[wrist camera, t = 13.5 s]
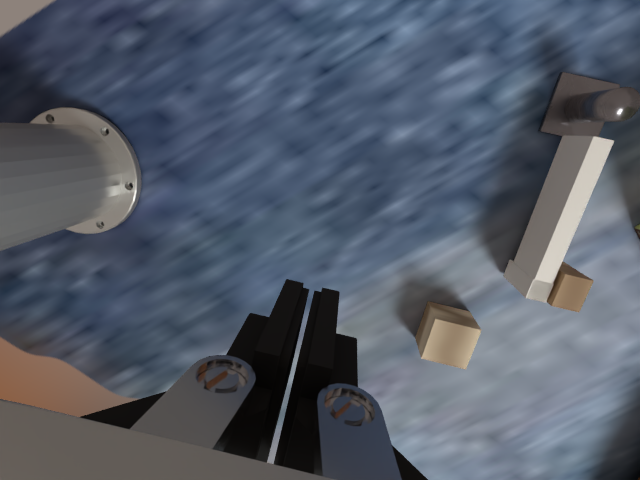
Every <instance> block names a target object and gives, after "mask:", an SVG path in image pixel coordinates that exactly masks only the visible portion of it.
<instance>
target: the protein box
mask: <svg viewBox="0 0 640 480" xmlns="http://www.w3.org/2000/svg"><path fill="white" fill-rule="evenodd" d="M635 231H636V233H637V234H638V236H639V238H640V224H639V225H637V226H635Z"/></svg>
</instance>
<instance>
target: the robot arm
mask: <svg viewBox="0 0 640 480" xmlns="http://www.w3.org/2000/svg"><path fill="white" fill-rule="evenodd" d="M108 130H109V132H108ZM132 184H133V186H132ZM140 191H141V171H140V167H139V163H138V159H137V157H136V154H135V152H134V150H133V148H132V146H131V144H130V143H129V141H128V140H127V138H126V137H125V136H124V135H123V133H122V132H121V131H120V130H119V129H118V128H117V127H116V126H115V125H113V124H112V123H111V122H110V121H108V120H107V119H106V118H104V117H102V116H100V115H98V114H97V113H94V112H91V111H88V110H85V109H79V108H64V107H60V108H55V109H50V110H48V111H45V112H43V113H41V114H39V115H38V116H37V117H35V118H34V119H33V120H32V121H31V122H30V123H0V251H2V250H5V249H7V248H10V247H13V246H16V245H19V244H22V243H25V242H28V241H31V240H34V239H37V238H39V237H42V236H45V235H48V234H51V233H54V232H57V231H60V230H63V229H67V230H70V231H73V232H77V233H84V234H93V233H100V232H104V231H107V230H109V229H112V228H114V227H116V226H118V225H119V224H121V223H122V222H124V221H125V220H126V219H127V218H128V217H129V216H130V215H131V213H132V212H133V210H134V208H135V207H136V205H137V202H138V199H139V196H140ZM303 284H304V283H301V282H297V281H292V280H288V279H286V281H285V284H284V286H283V288H282V290H281V292H280V295H279V297H278V299H277V301H276V304H275V306H274V308H273V310H272V313H271V315H270V317H266V316H261V315H257V314H253V313H250V314H249V315H248V317H247V319H246V321H245V323H244V324H243V326H242V328H241V330H240V331H239V333H238V335H237V337H236V338H235V340H234V342H233V344H232V346H231V347H230V349H229V351H228V353H227V354H226V355H215V356H208V357H206V358H203V359H200V360H199V361H197V362H196V363H195V364H193V365H192V366H191V367H190V368H189V369H188V370H187V371H186V372H185V373H184V374H183V375H182V376H181V377H180V378H179V379H178V380H177V381H176V382H175V383H174V385H173V386H172V387H171V388H170V389H169V390H168V391H166V392H163V393H159V394H156V395H152V396H149V397H146V398H142V399H139V400H136V401H132V402H129V403H125V404H122V405H119V406H115V407H112V408H109V409H105V410H102V411H99V412H95V413H92V414H89V415H85V416H81V417H75V416H71V415H67V414H63V413H59V412H55V411H51V410H47V409H42V408H38V407H34V406H30V405H26V404H21V403H17V402H12V401H7V400H2V399H0V480H428V479H427V478H426V477H425V476H423V475H422V474H421V473H420V472H419V471H418V470H417V469H416V468H415V467H414V466H413V465H412V464H411V463H410V462H409V461H408V460H407V459H406V458H405V457H404V456H403V455H402V454H401V453H400V452H399V451H397V450H396V449H395V448H394V447H393V446H392V445H391V441H390V438H389V434H388V431H387V427H386V424H385V421H384V417H383V414H382V410H381V408H380V406H379V404H378V402H377V401H376V400H375V399H374V398H373V397H372V396H371V395H370V394H368V393H367V392H366V391H364V390H362V389H360V388H358V376H357V339H356V338H353V337H349V336H345V335H341V334H337V333H336V327H337V315H338V303H339V291H335V290H330V289H326V288H322V291H321V292H319V291H314V295H313V300H312V304H311V308H310V312H309V316H308V320H307V324H306V329H305V333H304V337H303V341H302V345H301V349H300V354H299V358H298V362H297V366H296V370H295V375H294V379H293V383H292V388H291V392H290V396H289V401H288V405H287V409H286V413H285V418H284V422H283V426H282V431H281V435H280V439H279V443H278V448H277V452H276V456H275V461H274V464H270V463H267V460H268V456H269V452H270V448H271V444H272V440H273V436H274V433H275V429H276V425H277V421H278V417H279V413H280V410H281V406H282V402H283V398H284V394H285V390H286V387H287V383H288V379H289V375H290V371H291V367H292V363H293V358H294V354H295V349H296V345H297V341H298V336H299V332H300V328H301V323H302V319H303V314H304V310H305V306H306V301H307V297H308V293H309V289H306V288H303Z"/></svg>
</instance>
